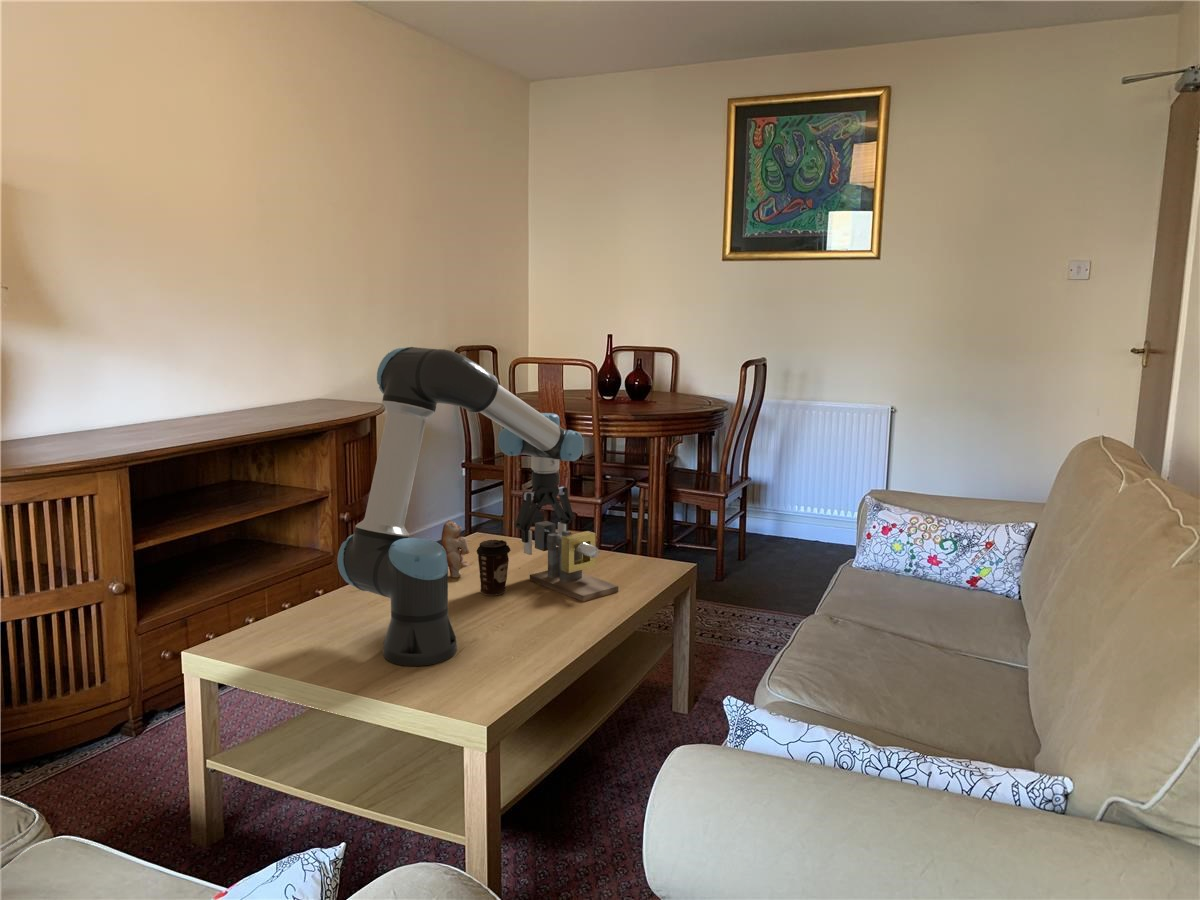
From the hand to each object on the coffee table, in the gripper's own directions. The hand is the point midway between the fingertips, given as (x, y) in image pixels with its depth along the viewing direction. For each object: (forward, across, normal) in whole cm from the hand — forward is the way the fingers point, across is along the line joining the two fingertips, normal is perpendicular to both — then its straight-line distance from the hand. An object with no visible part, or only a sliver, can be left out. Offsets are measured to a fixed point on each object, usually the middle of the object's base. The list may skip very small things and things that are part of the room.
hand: (545, 549), depth 229 cm
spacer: (+2, 0, -14) cm, 14 cm away
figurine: (+7, -19, +15) cm, 25 cm away
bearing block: (+7, 0, -12) cm, 14 cm away
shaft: (0, 0, -9) cm, 9 cm away
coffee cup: (+7, -19, -3) cm, 21 cm away
